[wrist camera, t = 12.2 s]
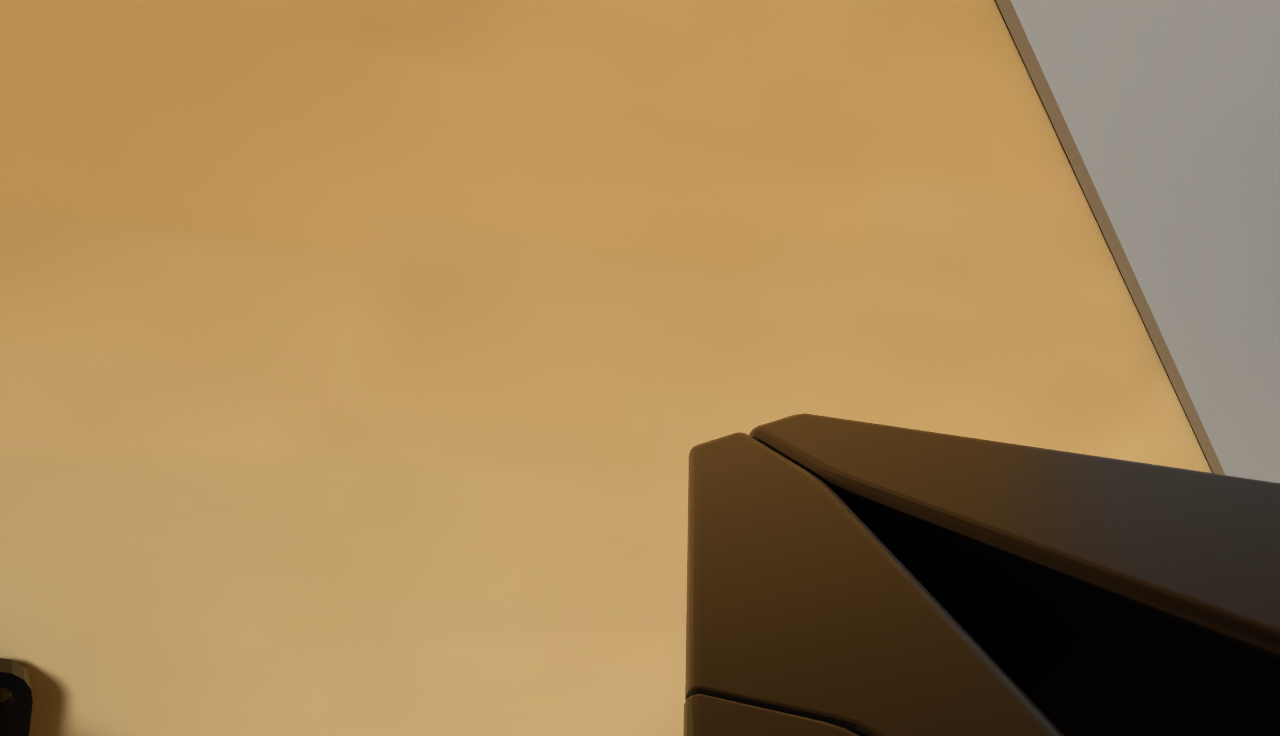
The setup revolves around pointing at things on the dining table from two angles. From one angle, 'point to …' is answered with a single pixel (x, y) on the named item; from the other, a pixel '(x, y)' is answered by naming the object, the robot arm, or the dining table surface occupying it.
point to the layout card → (1181, 188)
